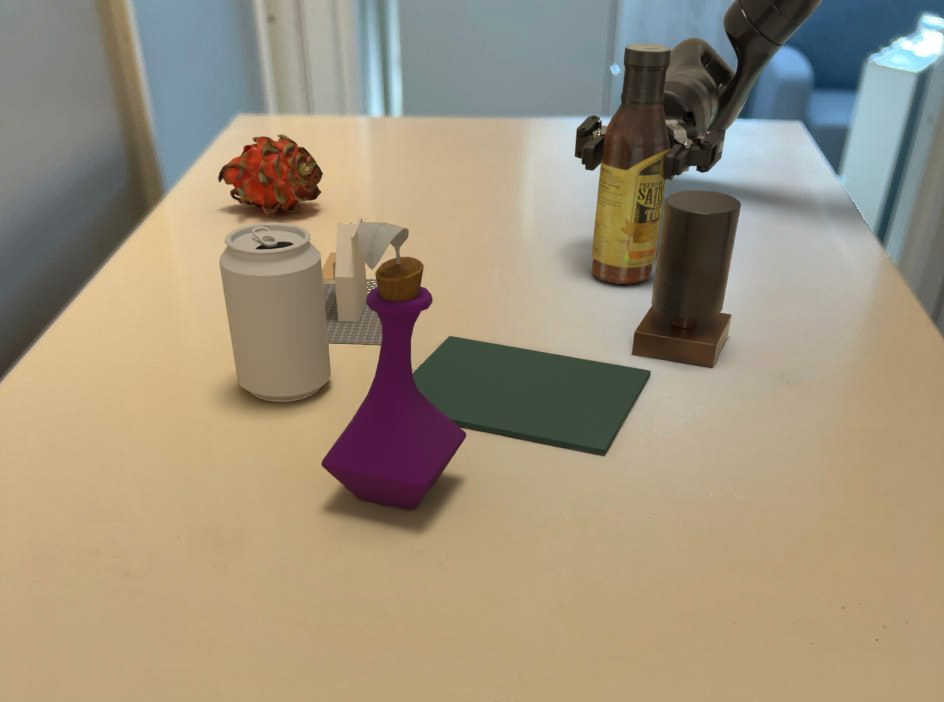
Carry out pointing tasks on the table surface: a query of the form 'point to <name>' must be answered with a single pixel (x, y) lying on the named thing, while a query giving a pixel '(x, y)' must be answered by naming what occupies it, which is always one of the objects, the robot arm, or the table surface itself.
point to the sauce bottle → (633, 171)
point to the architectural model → (349, 292)
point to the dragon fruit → (273, 175)
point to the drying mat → (530, 393)
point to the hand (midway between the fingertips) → (628, 163)
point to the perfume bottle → (394, 392)
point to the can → (276, 311)
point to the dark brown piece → (690, 279)
